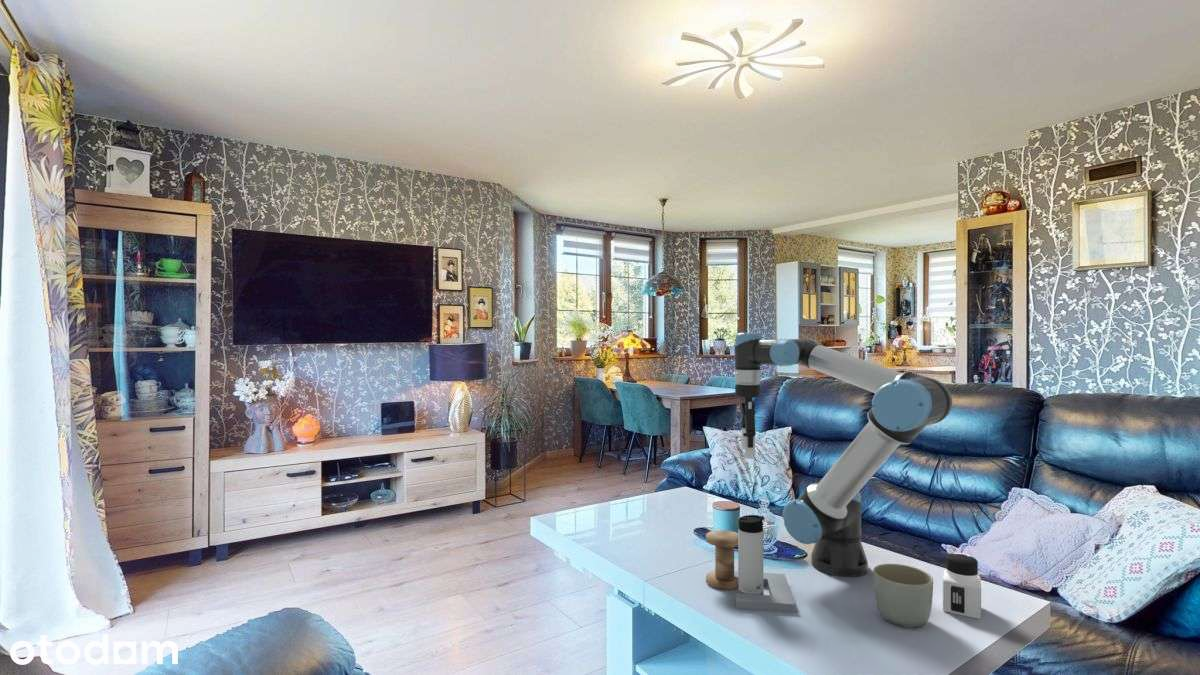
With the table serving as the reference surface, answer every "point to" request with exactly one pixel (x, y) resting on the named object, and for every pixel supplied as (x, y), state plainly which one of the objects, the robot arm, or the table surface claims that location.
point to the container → (962, 586)
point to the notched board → (775, 601)
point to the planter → (903, 594)
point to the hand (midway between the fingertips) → (748, 453)
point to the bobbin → (723, 559)
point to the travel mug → (750, 554)
